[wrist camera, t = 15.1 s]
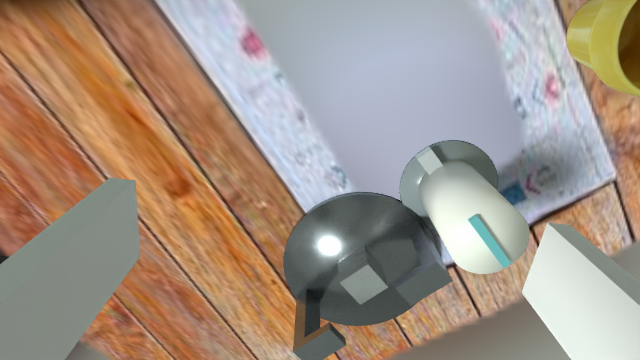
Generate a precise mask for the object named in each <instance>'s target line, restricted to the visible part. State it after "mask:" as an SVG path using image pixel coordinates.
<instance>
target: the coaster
mask: <svg viewBox="0 0 640 360" xmlns="http://www.w3.org/2000/svg"><path fill="white" fill-rule="evenodd" d="M429 147H430V148H431V149H432V151H433V152H434V154H435V155H436V156H437V158H438V159H439V160H440V162H442V161H445V160H461V161H464V162H466V163H468V164H470V165H471V166H472V167H473V168H474V169H475V170H476V171H477V172H478V173H479V174H480V175H482V176H483V177H484V178H485V179H486V180H487V181H488V182H489V183H490V184H491V185H492V186H493V187H494V188H495V189H496V190H497V186H498V176H497V171H496V168H495V165H494V164H493V162H492V160H491V159H490V158H489V156H488V155H487V154H486V153H485V152H483V151H482V150H481V149H480V148H478V147H477V146H475V145H473V144H471V143H467V142H464V141H458V140H448V141H442V142H438V143H435V144H432V145H430V146H429ZM426 148H427V147H426ZM424 149H425V148H424ZM424 149H423V150H424ZM421 151H422V150H421ZM421 151H420V152H421ZM417 154H418V153H417ZM417 154H416V155H417ZM425 173H426V170H425V169H424V168H423V166H422V165H421V164H420V162H419V161H418V160H417V158H416V157H415V156H414V157H413V158H412V159H411V160H410V162H409V163H408V164H407V166H406V168H405V170H404V172H403V174H402V177H401V181H400V198H401V201H402V203H403V204H404V205H405V206H407V207H408V208H410V209H412V210H413V211H414V212H415V213H417V215H418V216H420V218H419V219H420V221H419V219H418V217H417V216H416V215H415V217H417V219H418V221H419V222H420V223H421V219H423V221H424V222H425V227H426V225H427V226H428V227H429V228H428V227H426V228H428V229H432V230H436V228H435V226H434V225H433V223H432V221H431V219H430V217H429V216H428V214H427V212H426V210H425V208H424V207H423V205H422V203H421V201H420V198H419V193H418V191H419V184H420V181H421V179H422V177H423V175H424V174H425ZM405 208H406V207H405ZM408 210H409V209H408ZM410 212H411V211H410ZM407 213H408V211H407ZM411 213H412V212H411ZM411 213H408V214H410V215H411ZM413 216H414V215H413ZM412 218H413V217H412ZM422 223H423V222H422ZM422 226H423V227H424V225H422Z"/></svg>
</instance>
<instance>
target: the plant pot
mask: <svg viewBox="0 0 640 360" xmlns="http://www.w3.org/2000/svg"><path fill="white" fill-rule="evenodd" d="M566 41H567V47H568V50H569V52H570V54H571V56H572V57H573V58H574V59H575V60H576V61H578V62H579V63H581V64H583V65H585V66H587V67H588V68H590V69H592V70H594V71H595V73H596V74H597V76H598V77H599V78H600V79H601V80H602V81H603V82H604V83H605V84H606V85H608V86H609V87H611V88H613V89H615V90H617V91H620V92H623V93H627V94H630V95H634V96H638V97H640V0H590V1H588V2H587V3H585V4H584V5H583V6H582V7H581V8H580V9H579V10H578V11H577V12H576V13H575V15H574V16H573V18H572V20H571V22H570V24H569V27H568V30H567V36H566Z"/></svg>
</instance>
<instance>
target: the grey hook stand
mask: <svg viewBox="0 0 640 360" xmlns="http://www.w3.org/2000/svg"><path fill="white" fill-rule="evenodd" d="M405 207H406V208H405ZM408 209H409V210H408ZM407 211H408V213H411V212H412V213H411V215H410V214H408V213H407ZM410 211H411V212H410ZM413 215H414V216H413ZM415 215H416V216H417V217H418V219H419V218H420V216H418V215H417V213H415V212H414V211H413V210H412V209H410V208H408V207H407V206H405V205H404V204H403V203H402V201H400V200H398V199H395V198H393V197H390V196H387V195H383V194H378V193H371V192H356V193H348V194H343V195H339V196H336V197H333V198H330V199H328V200H326V201H323V202H321V203H320V204H318V205H316V206H315V207H313V208H312V209H311V210H309V211H308V212H307V213H306V214H305V215H304V216H303V217H302V218H301V219H300V220H299V221H298V222H297V224H296V225H295V227H294V228H293V230H292V231H291V233H290V235H289V237H288V240H287V243H286V247H285V253H284V273H285V277H286V281H287V284H288V286H289V288H290V290H291V292H292V293H293V295H294V296H295V298H296V299H297V303H296V317H295V332H294V346H293V352H294V353H295V354H296V355H297V356H298V357H299V358H300V359H301V360H323V359H324V358H326V357H328V356H329V355H331V354H333V353H334V352H336V351H338V350H339V349H341V348H342V347H344V346H346V341H345V338H344V337H343V336H342V335H341V334H340V333H339V332H338V331H337V330H336V329H335V328H334V327H333V326H332V325H331V324H330V323H327V324H326V325H324V326H323V327H321V328H320V318H322V319H325V320H328V321H330V322H334V323H338V324H343V325H350V326H363V325H372V324H378V323H381V322H385V321H388V320H390V319H393V318H395V317H397V316H399V315H401V314H403V313H404V312H406V311H407V310H409V309H410V308H412V307H413V306H414V305H415V304H416V303H417V302H419V301H420V300H422V299H423V298H425V297H427V296H428V295H430V294H432V293H433V292H435V291H437V290H438V289H440V288H442V287H443V286H445V285H447V284H448V283H450V282H452V281H453V280H452V278H451V276H450V275H449V273H448V271H447V269H446V267H445V265H444V263H443V261H442V259H441V257H440V255H439V253H438V251H437V246H436V243H435V239H434V237H433V235H432V232H431V230H430V229H428V228H429V227H428V226H427V225H426V227H428V228H426V227H425V222H424V221H423V219H421V223H420V222H419V221H420V219H419V221H418V219H417V217H415ZM412 217H413V218H412ZM422 222H423V223H422ZM422 225H424V227H423V226H422Z"/></svg>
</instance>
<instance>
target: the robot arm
mask: <svg viewBox="0 0 640 360" xmlns="http://www.w3.org/2000/svg"><path fill="white" fill-rule="evenodd" d="M139 257H140V249H139V232H138V215H137V198H136V182H135V180H126V179H116V178H109V179H108V180H107V181H105V182H104V183H103V184H102V185H100V186H99V187H98V188H97V189H95V190H94V191H93V192H91V193H90V194H89V195H88V196H86V197H85V198H84V199H83V200H81V201H80V202H79V203H78V204H76V205H75V206H74V207H72V208H71V209H70V210H69V211H67V212H66V213H65V214H64V215H62V216H61V217H60V218H58V219H57V220H56V221H55V222H53V223H52V224H51V225H50V226H48V227H47V228H46V229H44V230H43V231H42V232H41V233H39V234H38V235H37V236H36V237H34V238H33V239H32V240H31V241H29V242H28V243H27V244H25V245H24V246H23V247H22V248H20V249H19V250H18V251H17V252H15V253H14V254H13V255H11V256H10V257H7V256H0V360H65V358H66V357H67V356H68V354H69V353H70V352H71V350H72V349H73V348H74V346H75V345H76V343H77V342H78V341H79V339H80V338H81V337H82V335H83V334H84V333H85V331H86V330H87V328H88V327H89V326H90V324H91V323H92V322H93V320H94V319H95V317H96V316H97V315H98V313H99V312H100V311H101V309H102V308H103V307H104V305H105V304H106V302H107V301H108V300H109V298H110V297H111V296H112V294H113V293H114V292H115V290H116V289H117V287H118V286H119V285H120V283H121V282H122V281H123V279H124V278H125V276H126V275H127V274H128V272H129V271H130V270H131V268H132V267H133V266H134V264H135V263H136V261H137V260H138V259H139ZM522 293H523V295H524V296H525V297H526V299H527V300H528V301H529V303H530V304H531V305H532V307H533V308H534V309H535V311H536V312H537V314H538V315H539V316H540V318H541V319H542V320H543V322H544V323H545V324H546V326H547V327H548V328H549V330H550V331H551V333H552V334H553V335H554V337H555V338H556V339H557V341H558V342H559V343H560V345H561V346H562V347H563V349H564V350H565V351H566V353H567V354H568V356H569V357H570V358H571V359H572V360H640V283H639V282H638V281H637V280H636V279H635V278H633V277H632V276H631V275H630V274H629V273H627V272H626V271H625V270H624V269H623V268H621V267H620V266H619V265H617V263H615V262H614V261H613V260H612V259H611V258H609V257H608V256H607V255H606V254H604V253H603V252H602V251H601V250H600V249H598V248H597V247H596V246H595V245H594V244H592V243H591V242H590V241H589V240H588V239H586V238H585V237H584V236H583V235H582V234H580V233H579V232H578V231H577V230H575V229H574V228H573V227H572V226H571V225H564V224H554V223H547V226H546V228H545V231H544V234H543V236H542V239H541V242H540V244H539V247H538V250H537V253H536V255H535V258H534V261H533V263H532V266H531V269H530V271H529V274H528V277H527V280H526V282H525V285H524V288H523V290H522Z"/></svg>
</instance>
